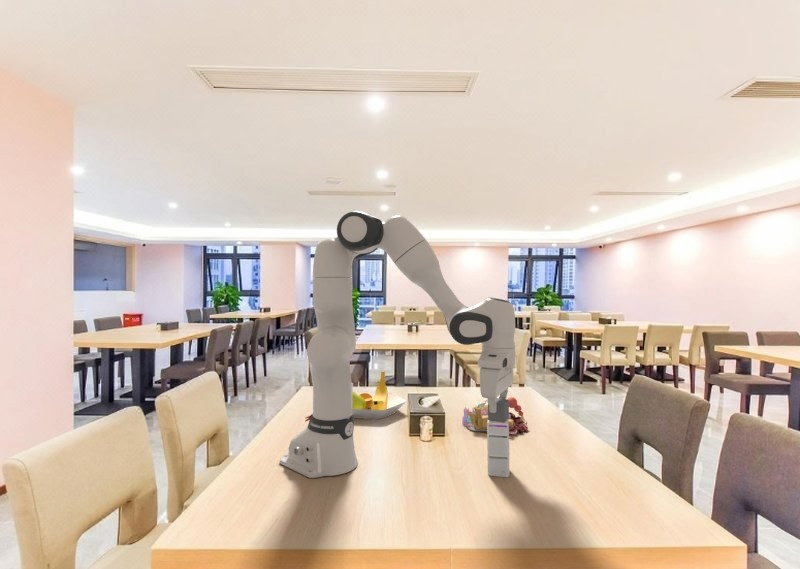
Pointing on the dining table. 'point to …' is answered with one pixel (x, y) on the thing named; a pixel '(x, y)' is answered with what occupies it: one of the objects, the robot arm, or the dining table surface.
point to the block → (500, 411)
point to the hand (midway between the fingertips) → (498, 407)
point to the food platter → (480, 415)
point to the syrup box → (498, 448)
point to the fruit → (375, 402)
